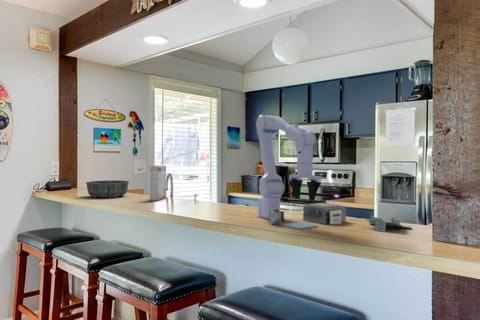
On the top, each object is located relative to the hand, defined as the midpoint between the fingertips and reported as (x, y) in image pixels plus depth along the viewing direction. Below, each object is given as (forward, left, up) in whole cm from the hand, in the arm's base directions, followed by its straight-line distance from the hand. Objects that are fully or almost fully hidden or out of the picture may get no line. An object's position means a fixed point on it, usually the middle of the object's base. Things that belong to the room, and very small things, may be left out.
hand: (304, 199), depth 137 cm
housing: (-3, +15, -10) cm, 18 cm away
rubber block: (-13, -2, -10) cm, 17 cm away
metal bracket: (+21, +21, -11) cm, 31 cm away
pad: (+1, -3, -10) cm, 10 cm away
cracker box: (-111, -12, -10) cm, 112 cm away
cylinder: (-8, -7, -10) cm, 15 cm away
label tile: (+4, +13, -10) cm, 17 cm away
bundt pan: (-143, -33, -10) cm, 147 cm away
